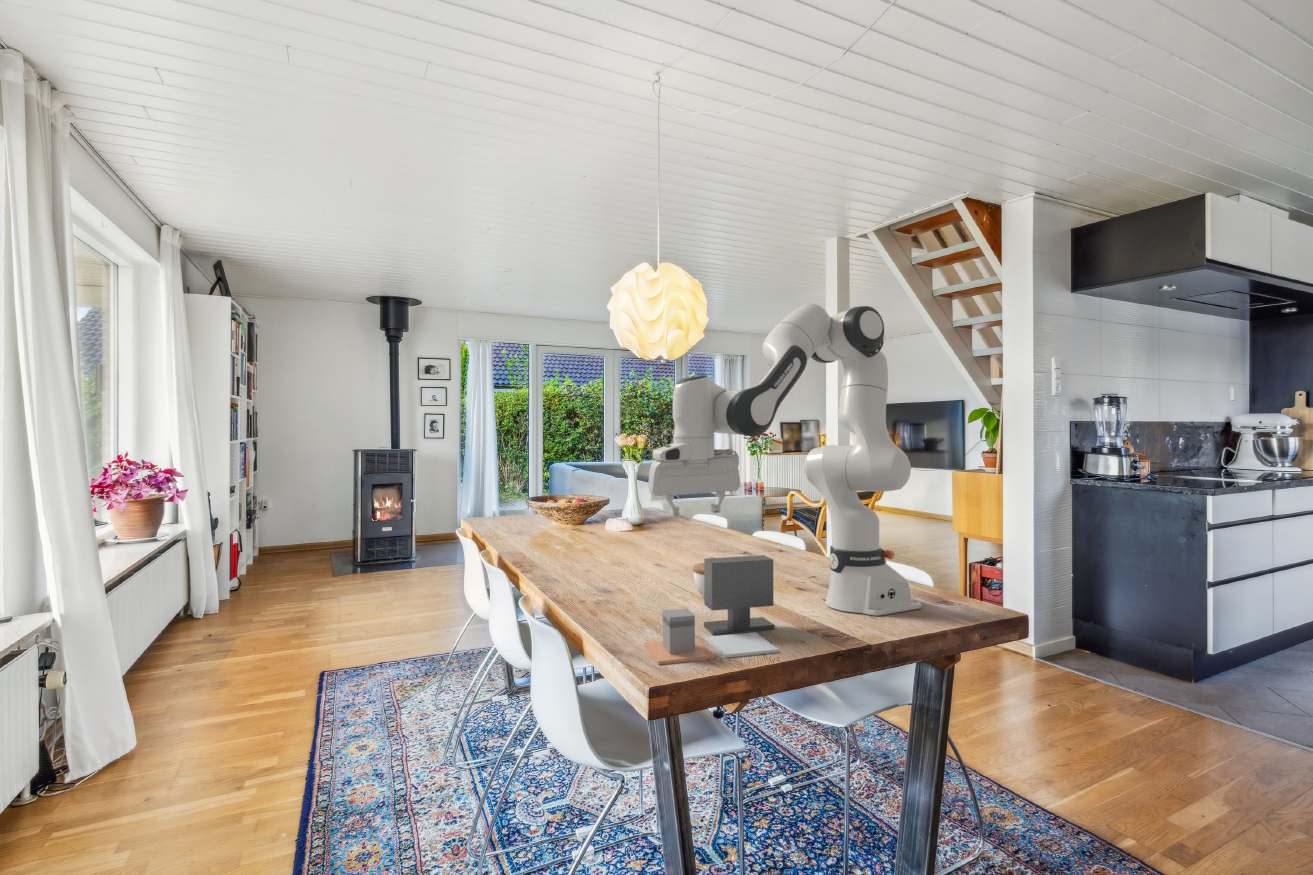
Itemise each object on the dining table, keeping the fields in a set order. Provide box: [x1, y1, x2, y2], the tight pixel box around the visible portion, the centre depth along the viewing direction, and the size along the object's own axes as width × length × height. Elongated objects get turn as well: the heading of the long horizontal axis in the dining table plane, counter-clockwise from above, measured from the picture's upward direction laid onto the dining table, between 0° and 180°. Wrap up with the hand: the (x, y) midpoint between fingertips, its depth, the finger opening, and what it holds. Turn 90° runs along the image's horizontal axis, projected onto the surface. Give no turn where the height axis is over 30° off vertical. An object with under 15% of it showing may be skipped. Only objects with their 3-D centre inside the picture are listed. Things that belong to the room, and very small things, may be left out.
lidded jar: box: [692, 562, 704, 598], centre depth 169 cm, size 11×11×9 cm
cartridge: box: [662, 608, 696, 654], centre depth 127 cm, size 5×5×7 cm
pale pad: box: [705, 631, 779, 659], centre depth 131 cm, size 11×11×1 cm
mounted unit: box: [703, 554, 775, 636], centre depth 142 cm, size 14×6×15 cm, turn 105°
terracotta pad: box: [643, 637, 716, 665], centre depth 127 cm, size 11×11×1 cm
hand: (695, 513), depth 143 cm, fingers open, 8 cm apart
